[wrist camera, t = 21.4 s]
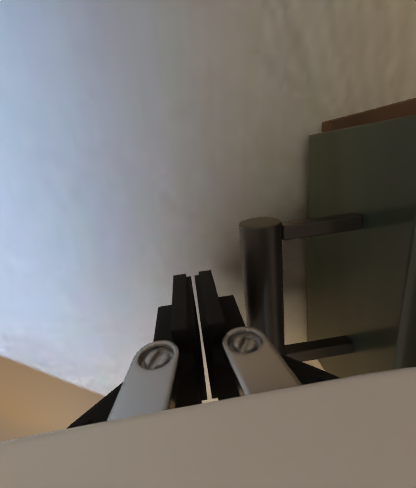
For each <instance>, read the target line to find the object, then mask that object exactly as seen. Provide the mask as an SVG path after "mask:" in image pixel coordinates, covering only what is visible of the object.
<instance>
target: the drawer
mask: <svg viewBox="0 0 416 488" xmlns="http://www.w3.org/2000/svg"><path fill="white" fill-rule="evenodd" d="M239 230H240V243H241V256H242V269H243V282H244V295H245V308H246V321H247V327H253V328H256V329H258V330H260V331H262V332H263V333H264V334H265V335H266V336H267V338H268V339H269V340H270V342H271V343H272V344H273V346H274V347H275V348H276V350H277V351H278V353H280V354H283V355H285V356H288V357H290V358H293V359H295V360H298V361H300V362H303V361H309V360H315V359H318V361H319V362H320V364H321V365H322V367H323V368H324V370H325V371H326V372H328V373H330V374H333V375H335V376H337V377H339V378H345V377H350V376H356V375H361V374H367V373H374V372H381V371H388V370H395V369H402V368H409V367H416V115H411V116H406V117H401V118H396V119H390V120H385V121H380V122H375V123H370V124H364V125H359V126H354V127H349V128H343V129H338V130H333V131H328V132H322V133H317V134H312V135H309V196H308V219H303V220H296V221H288V222H281V220H279V219H277V218H271V217H258V218H251V219H247V220H244V221H242V222H240V224H239ZM304 237H308V290H307V342H302V343H296V344H290V345H284V307H283V263H282V239H283V240H290V239H297V238H304Z"/></svg>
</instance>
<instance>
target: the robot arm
mask: <svg viewBox="0 0 416 488" xmlns="http://www.w3.org/2000/svg"><path fill="white" fill-rule="evenodd" d="M195 283H196V290H197V298H198V306H199V314H200V322H201V329H202V336H203V342H204V349H205V355H206V362H207V368H208V375H209V381H210V388H211V394H212V399H213V398H218V401H213V402H208V403H202V400H207V392H206V384H205V375H204V366H203V358H202V349H201V340H200V332H199V325H198V319H197V312H196V306H195V300H194V293H193V287H192V280H191V276H189V277H186V274H181V275H175V276H173V294H172V305H168V306H161V307H159V308H158V313H157V320H156V327H155V334H154V341H153V342H152V343H149V344H147V345H145V346H144V347H142V348H141V349H140V350H139V351H138V352H137V353H136V355H135V356H134V358H133V361H132V363H131V365H130V368H129V370H128V372H127V375H126V377H125V379H124V382H122V383H121V384H120V385H119V386H118V387H116V388H115V389H114V390H113V391H111V392H110V393H109V394H108V395H107V396H105V397H104V398H103V399H102V400H100V401H99V402H98V403H97V404H95V405H94V406H93V407H92V408H91V409H90V410H88V411H87V412H86V413H84V414H83V415H82V416H81V417H80V418H78V419H77V420H76V421H75V422H73V423H72V424H71V425H70V426H69V427H68V428H67V429H64V430H58V431H53V432H48V433H42V434H38V435H32V436H27V437H22V438H18V439H13V440H9V441H5V442H0V488H416V367H409V368H402V369H395V370H388V371H381V372H374V373H367V374H361V375H356V376H350V377H345V378H339V377H337V376H335V375H333V374H330V373H328V372H325V371H323V370H320V369H318V368H315V367H313V366H310V365H308V364H305V363H303V362H300V361H298V360H295V359H293V358H290V357H288V356H285V355H283V354H280V353H278V351H277V350H276V348H275V347H274V346H273V344H272V343H271V342H270V340H269V339H268V338H267V336H266V335H265V334H264V333H263V332H262V331H260V330H258V329H256V328H253V327H246V326H245V324H244V321H243V319H242V316H241V314H240V311H239V309H238V306H237V304H236V301H235V298H234V296H233V295H230V296H223V297H218V294H217V291H216V287H215V283H214V280H213V276H212V273H211V270H207V271H201V272H199V275H195Z"/></svg>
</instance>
